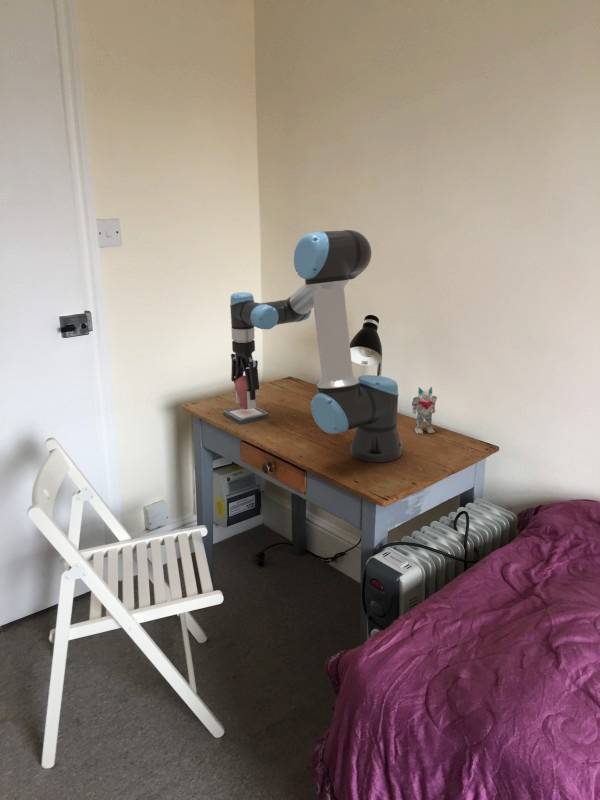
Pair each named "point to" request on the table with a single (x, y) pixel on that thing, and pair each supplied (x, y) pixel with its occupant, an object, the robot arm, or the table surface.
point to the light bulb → (242, 391)
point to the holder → (245, 415)
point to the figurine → (424, 409)
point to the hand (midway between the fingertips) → (245, 405)
